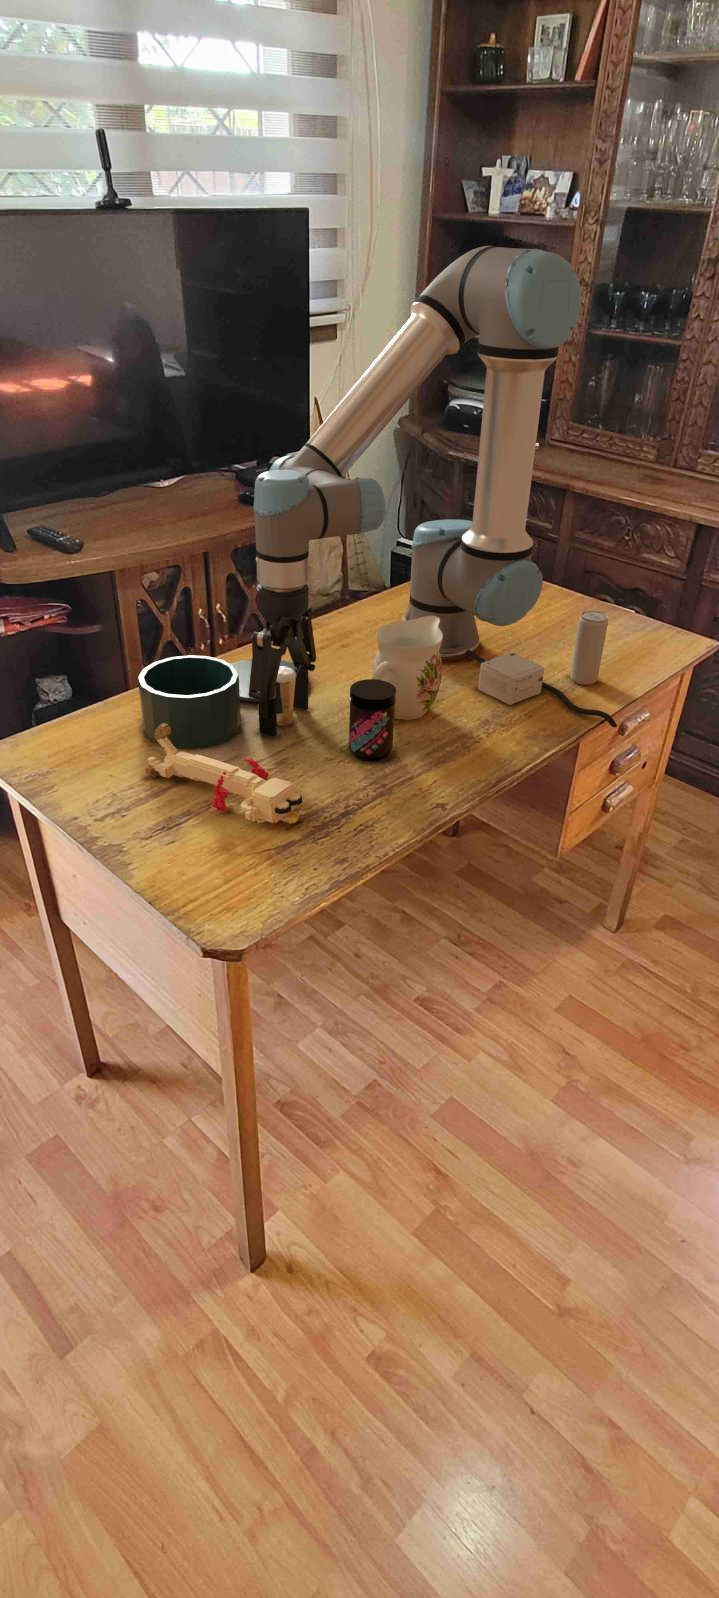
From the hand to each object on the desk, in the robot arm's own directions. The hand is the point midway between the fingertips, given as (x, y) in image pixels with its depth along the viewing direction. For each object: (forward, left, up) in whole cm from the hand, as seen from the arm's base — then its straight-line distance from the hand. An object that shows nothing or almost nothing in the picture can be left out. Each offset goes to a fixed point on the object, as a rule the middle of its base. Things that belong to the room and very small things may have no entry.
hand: (284, 720), depth 147 cm
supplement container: (-16, +2, 0) cm, 16 cm away
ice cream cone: (0, 0, 0) cm, 0 cm away
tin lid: (+10, -10, 0) cm, 14 cm away
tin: (+12, +8, 0) cm, 14 cm away
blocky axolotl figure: (-4, +23, 0) cm, 23 cm away
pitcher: (-15, -12, 0) cm, 19 cm away
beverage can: (-38, -39, 0) cm, 55 cm away
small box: (-28, -28, 0) cm, 40 cm away
